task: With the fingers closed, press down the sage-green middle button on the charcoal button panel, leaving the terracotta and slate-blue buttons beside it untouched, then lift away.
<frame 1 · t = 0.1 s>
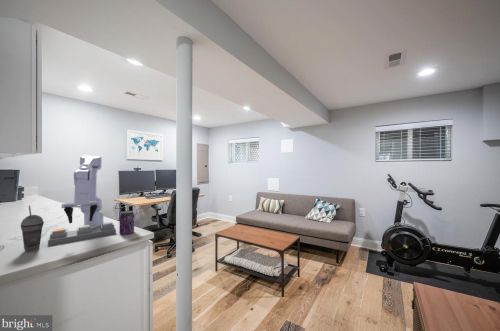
hand: (80, 222, 99), 11 cm above the table, tool pointing down, fingers open, 7 cm apart
beverage cup: (32, 250, 91), on the table
button panel: (84, 236, 109), on the table
sage button: (84, 227, 109), point 4 cm above the table, slide at 0.0 cm
slate button: (107, 224, 116), point 4 cm above the table, slide at 0.0 cm
terracotta button: (59, 231, 103), point 4 cm above the table, slide at 0.0 cm
beverage can: (126, 233, 115), on the table
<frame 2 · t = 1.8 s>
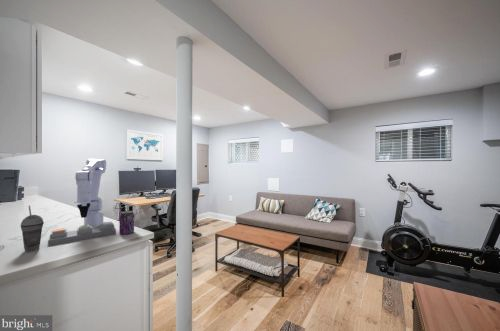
hand: (83, 217, 113), 9 cm above the table, tool pointing down, fingers closed
nothing on the table moved.
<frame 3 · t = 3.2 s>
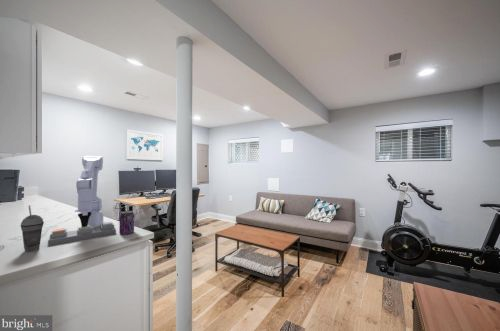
hand: (84, 226, 109), 5 cm above the table, tool pointing down, fingers closed, pressing on sage button
sage button: (84, 228, 109), point 4 cm above the table, slide at 0.1 cm, touching gripper
everything else where it was.
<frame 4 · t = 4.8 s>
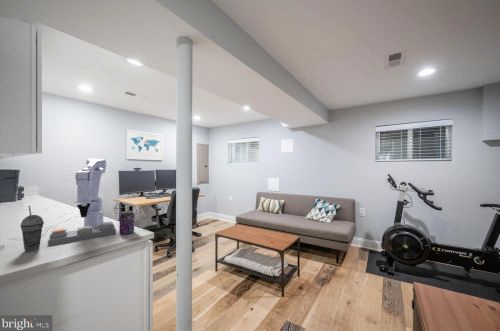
hand: (83, 217, 113), 9 cm above the table, tool pointing down, fingers closed
sage button: (84, 229, 109), point 4 cm above the table, slide at 0.9 cm
everything else where it was.
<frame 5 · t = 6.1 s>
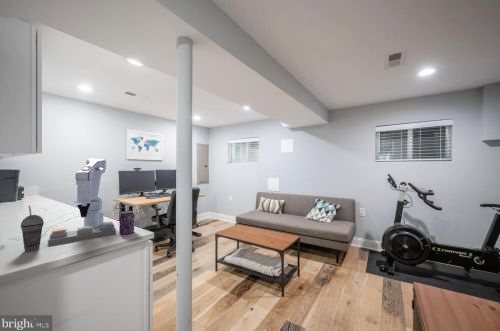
hand: (83, 217, 113), 9 cm above the table, tool pointing down, fingers closed
nothing on the table moved.
at the end: sage button slide at 0.9 cm; terracotta button slide at 0.0 cm; slate button slide at 0.0 cm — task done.
